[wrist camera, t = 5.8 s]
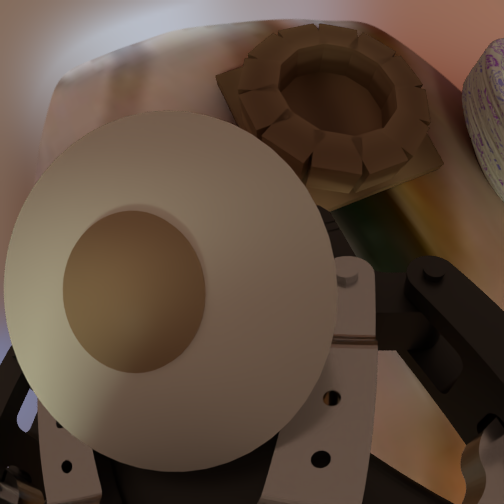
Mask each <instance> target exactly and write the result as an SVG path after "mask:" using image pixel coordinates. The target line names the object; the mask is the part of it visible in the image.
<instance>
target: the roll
mask: <svg viewBox="0 0 504 504" xmlns="http://www.w3.org/2000/svg"><path fill="white" fill-rule="evenodd" d="M337 298H338V291H337V277H336V265H335V261H334V256H333V252H332V247H331V243H330V238H329V236H328V233H327V230H326V228H325V225H324V222H323V220H322V217H321V214H320V212H319V210H318V208H317V206H316V204H315V203H314V201H313V199H312V197H311V195H310V194H309V192H308V190H307V188H306V187H305V186H304V184H303V183H302V182H301V180H300V179H299V178H298V176H297V175H296V174H295V172H294V171H293V170H292V168H291V167H290V166H289V165H288V164H287V163H286V162H285V161H284V160H283V159H282V158H281V157H280V156H279V155H278V154H277V153H276V152H275V151H274V150H273V149H271V148H270V147H269V146H267V145H266V144H265V143H263V142H262V141H261V140H259V139H258V138H256V137H255V136H254V135H252V134H250V133H249V132H247V131H245V130H243V129H241V128H239V127H237V126H235V125H233V124H231V123H229V122H226V121H223V120H220V119H217V118H214V117H211V116H208V115H203V114H198V113H193V112H186V111H154V112H145V113H140V114H136V115H131V116H127V117H124V118H121V119H118V120H115V121H113V122H110V123H107V124H105V125H103V126H101V127H99V128H97V129H96V130H94V131H92V132H90V133H88V134H87V135H85V136H84V137H82V138H81V139H79V140H78V141H76V142H75V143H74V144H72V145H71V146H70V147H69V148H68V149H66V150H65V151H64V152H63V153H62V154H61V155H60V156H59V157H57V158H56V160H55V161H54V162H53V163H52V164H51V165H50V166H49V167H48V168H47V170H46V171H45V172H44V173H43V174H42V176H41V177H40V179H39V180H38V181H37V183H36V184H35V186H34V187H33V189H32V190H31V192H30V194H29V196H28V197H27V199H26V201H25V203H24V205H23V207H22V209H21V211H20V214H19V216H18V218H17V221H16V223H15V226H14V229H13V232H12V236H11V239H10V243H9V247H8V253H7V258H6V264H5V276H4V304H5V313H6V320H7V326H8V330H9V335H10V339H11V343H12V346H13V349H14V352H15V354H16V357H17V360H18V363H19V365H20V367H21V369H22V371H23V373H24V375H25V377H26V379H27V381H28V383H29V385H30V386H31V388H32V389H33V391H34V393H35V394H36V396H37V397H38V399H39V400H40V401H41V403H42V404H43V405H44V407H45V408H46V409H47V410H48V412H49V413H50V414H51V415H52V416H53V417H54V418H55V419H56V420H57V421H58V422H59V423H60V424H61V425H62V426H63V427H64V428H65V429H66V430H67V431H68V432H70V433H71V434H72V435H73V436H75V437H76V438H77V439H78V440H80V441H81V442H82V443H84V444H86V445H87V446H89V447H90V448H92V449H94V450H95V451H97V452H99V453H101V454H103V455H105V456H107V457H109V458H112V459H114V460H116V461H119V462H121V463H125V464H128V465H131V466H135V467H138V468H143V469H149V470H155V471H164V472H186V471H194V470H201V469H207V468H211V467H215V466H218V465H221V464H225V463H228V462H231V461H233V460H235V459H237V458H239V457H242V456H244V455H246V454H248V453H250V452H252V451H253V450H255V449H256V448H258V447H259V446H261V445H262V444H264V443H265V442H267V441H268V440H270V439H271V438H272V437H273V436H274V435H276V434H277V433H278V432H279V431H280V430H281V429H282V428H283V427H284V426H285V425H286V424H287V423H288V422H290V420H291V419H292V418H293V417H294V415H295V414H296V413H297V412H298V410H299V409H300V408H301V407H302V405H303V404H304V403H305V402H306V400H307V398H308V397H309V395H310V393H311V391H312V390H313V388H314V386H315V384H316V383H317V381H318V379H319V377H320V375H321V372H322V370H323V367H324V365H325V362H326V359H327V357H328V354H329V351H330V347H331V343H332V338H333V334H334V329H335V324H336V313H337Z"/></svg>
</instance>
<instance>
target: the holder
mask: <svg viewBox="0 0 504 504" xmlns="http://www.w3.org/2000/svg"><path fill="white" fill-rule="evenodd" d="M395 53H396V51H394V50H393V49H391V48H389V47H388V46H386V45H384V44H383V43H381V42H379V41H377V40H376V39H374V38H372V37H370V36H369V35H367V34H365V33H362V34H361V35H360V36H359V37H358V36H357V30H354V29H349V28H343V27H338V26H332V25H326V24H319V30H318V28H317V27H316V26H315V25H314V24H308V25H303V26H298V27H293V28H288V29H284V30H280V31H278V35H276V34H274V33H273V34H271V35H270V36H269V37H268V38H266V39H265V40H264V41H263V42H261V43H260V44H259V45H258V46H256V47H255V48H254V49H253V50H252V51H250V52H249V53H248V58H245V60H244V64H243V67H240V68H237V69H234V70H231V71H228V72H225V73H222V74H219V75H216V80H217V84H218V86H219V88H220V90H221V92H222V94H223V96H224V98H225V100H226V102H227V104H228V107H229V109H230V111H231V113H232V115H233V117H234V119H235V121H236V123H237V125H238V127H239V128H241V129H243V130H245V131H247V132H249V133H250V134H252V135H254V136H255V137H256V138H258V139H259V140H261V141H262V142H263V143H265V144H266V145H267V146H269V147H270V148H271V149H273V150H274V151H275V152H276V153H277V154H278V155H279V156H280V157H281V158H282V159H283V160H284V161H285V162H286V163H287V164H288V165H289V166H290V167H291V168H292V170H293V171H294V172H295V174H296V175H297V176H298V178H299V179H300V180H301V182H302V183H303V184H304V186H305V187H306V188H307V190H308V192H309V194H310V195H311V197H312V199H313V201H314V203H315V204H316V206H317V205H319V206H321V207H323V208H324V209H326V210H328V211H329V212H331V211H333V210H336V209H338V208H341V207H343V206H346V205H348V204H351V203H353V202H356V201H358V200H361V199H363V198H366V197H368V196H371V195H373V194H376V193H378V192H381V191H383V190H386V189H389V188H391V187H394V186H396V185H399V184H401V183H404V182H406V181H409V180H411V179H414V178H417V177H419V176H422V175H424V174H427V173H429V172H432V171H434V170H437V169H439V168H440V167H441V166H442V165H443V164H444V163H443V161H442V159H441V157H440V155H439V154H438V152H437V150H436V148H435V146H434V145H433V143H432V141H431V139H430V138H429V136H428V134H427V132H428V130H429V127H428V125H429V124H430V123H431V122H430V115H429V108H428V102H427V96H426V91H425V89H421V87H422V85H423V84H422V82H421V81H420V80H419V78H418V77H417V76H416V74H415V73H414V72H413V70H412V69H411V68H410V67H409V65H408V64H407V63H406V62H405V60H404V59H403V58H402V57H401V56H395V57H394V55H395Z"/></svg>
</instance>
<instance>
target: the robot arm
mask: <svg viewBox="0 0 504 504" xmlns="http://www.w3.org/2000/svg"><path fill="white" fill-rule="evenodd" d="M317 208H318V210H319V212H320V214H321V217H322V220H323V222H324V225H325V228H326V230H327V233H328V236H329V238H330V243H331V247H332V252H333V256H334V261H335V265H336V277H337V291H338V298H337V313H336V324H335V329H334V334H333V338H332V343H331V347H330V351H329V354H328V357H327V359H326V362H325V365H324V367H323V370H322V372H321V375H320V377H319V379H318V381H317V383H316V384H315V386H314V388H313V390H312V391H311V393H310V395H309V397H308V398H307V400H306V402H305V403H304V404H303V405H302V407H301V408H300V409H299V410H298V412H297V413H296V414H295V415H294V417H293V418H292V419H291V420H290V422H288V423H287V424H286V425H285V426H284V427H283V428H282V429H281V430H280V431H279V432H278V433H277V434H276V435H274V436H273V437H272V438H271V439H270V440H268V441H267V442H265V443H264V444H262V445H261V446H259V447H258V448H256V449H255V450H253V451H252V452H250V453H248V454H246V455H244V456H242V457H239V458H237V459H235V460H233V461H231V462H228V463H225V464H221V465H218V466H215V467H211V468H207V469H201V470H194V471H186V472H164V471H155V470H149V469H143V468H138V467H135V466H131V465H128V464H125V463H121V462H119V461H116V460H114V459H112V458H109V457H107V456H105V455H103V454H101V453H99V452H97V451H95V450H94V449H92V448H90V447H89V446H87V445H86V444H84V443H82V442H81V441H80V440H78V439H77V438H76V437H75V436H73V435H72V434H71V433H70V432H68V431H67V430H66V429H65V428H64V427H63V426H62V425H61V424H60V423H59V422H58V421H57V420H56V419H55V418H54V417H53V416H52V415H51V414H50V413H49V412H48V410H47V409H46V408H45V407H44V405H43V404H42V403H41V401H40V400H39V399H38V412H37V414H36V416H35V419H34V421H33V424H32V426H31V428H30V430H29V431H28V432H26V433H25V432H24V431H22V430H21V429H20V428H19V426H18V424H17V415H18V412H19V410H20V408H21V406H22V403H23V401H24V399H25V397H26V395H27V393H28V390H29V389H31V390H33V389H32V388H31V386H30V385H29V383H28V381H27V379H26V377H25V375H24V373H23V371H22V369H21V367H20V365H19V363H18V360H17V357H16V354H15V352H14V349H13V346H11V347H10V349H9V350H8V352H7V354H6V356H5V358H4V359H3V361H2V363H1V365H0V504H453V503H452V502H450V501H448V500H446V499H444V498H443V497H441V496H439V495H437V494H435V493H434V492H432V491H430V490H429V489H427V488H425V487H423V486H422V485H420V484H418V483H417V482H415V481H413V480H412V479H410V478H408V477H407V476H405V475H404V474H402V473H400V472H399V471H397V470H396V469H394V468H393V467H391V466H389V465H388V464H386V463H385V462H383V461H382V460H380V459H379V458H377V457H376V456H374V455H373V454H371V453H370V450H371V442H372V433H373V423H374V412H375V400H376V384H377V363H378V350H396V351H397V352H398V354H399V355H400V356H401V358H402V359H403V360H404V361H405V363H406V364H407V365H408V367H409V368H410V369H411V370H412V372H413V373H414V374H415V376H416V377H417V378H418V380H419V381H420V382H421V383H422V385H423V386H424V387H425V389H426V390H427V391H428V393H429V394H430V395H431V397H432V398H433V399H434V401H435V402H436V404H437V405H438V406H439V408H440V409H441V410H442V412H443V413H444V414H445V416H446V417H447V419H448V420H449V421H450V423H451V424H452V425H453V427H454V428H455V430H456V431H457V433H458V434H459V435H460V437H461V438H462V440H463V441H464V442H465V444H466V447H465V449H464V451H463V453H462V457H461V471H462V474H463V476H464V478H465V482H466V494H465V498H464V500H463V502H462V504H504V311H503V310H502V309H501V308H500V307H499V306H498V305H497V304H496V303H495V302H493V301H492V300H491V299H490V298H489V297H488V296H487V295H486V294H485V293H484V292H483V291H482V290H481V289H479V288H478V287H477V286H476V285H475V284H474V283H473V282H472V281H471V280H469V279H468V278H467V277H466V276H465V275H464V274H463V273H461V272H460V271H459V270H458V269H457V268H456V267H454V266H453V265H452V264H451V263H450V262H448V261H447V260H445V259H442V258H440V257H436V256H422V257H419V258H416V259H414V260H413V261H412V262H411V263H410V264H409V265H408V268H407V273H383V272H377V271H374V270H373V268H372V266H371V265H370V264H369V263H368V262H366V261H365V260H363V259H361V258H357V257H356V256H355V254H354V252H353V251H352V249H351V247H350V245H349V244H348V242H347V240H346V239H345V237H344V235H343V233H342V232H341V230H340V229H339V227H338V225H337V223H336V222H335V220H334V218H333V217H332V215H331V213H330V212H329V211H328V210H326V209H324V208H323V207H321V206H319V205H317ZM8 466H9V468H7V467H8ZM46 499H47V500H46Z"/></svg>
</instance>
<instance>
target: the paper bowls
mask: <svg viewBox="0 0 504 504" xmlns="http://www.w3.org/2000/svg"><path fill="white" fill-rule="evenodd" d="M462 103H463V106H462V107H463V109H464V116H465V121H466V126H467V129H468V132H469V135H470V138H471V140H472V144H473V147H474V150H475V154H476V157H477V159H478V162H479V164H480V167H481V169H482V171H483V173H484V175H485V177H486V179H487V180H488V182H489V184H490V185H491V187H492V188H493V189H494V191H495V192H496V194H497V195H498V196H499V197H500V199H501V200H502V201H503V202H504V38H501V39H497V40H495V41H493V42H492V43H491V44H490V45H489V46H488V48H487V49H486V50H485V51H484V53H483V54H482V56H481V57H480V59H479V60H478V62H477V63H476V65H475V66H474V67H473V68H472V70H471V72H470V73H469V75H468V76H467V78H466V80H465V82H464V84H463V90H462Z"/></svg>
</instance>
